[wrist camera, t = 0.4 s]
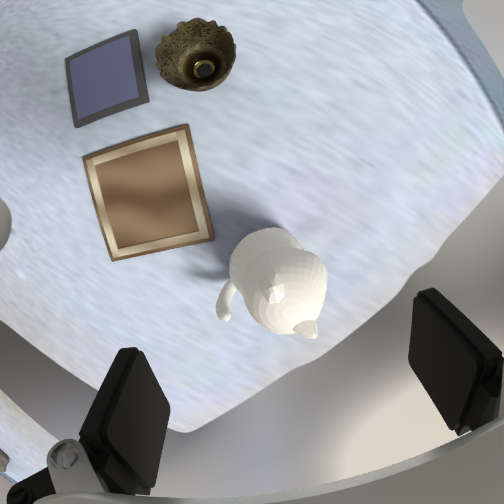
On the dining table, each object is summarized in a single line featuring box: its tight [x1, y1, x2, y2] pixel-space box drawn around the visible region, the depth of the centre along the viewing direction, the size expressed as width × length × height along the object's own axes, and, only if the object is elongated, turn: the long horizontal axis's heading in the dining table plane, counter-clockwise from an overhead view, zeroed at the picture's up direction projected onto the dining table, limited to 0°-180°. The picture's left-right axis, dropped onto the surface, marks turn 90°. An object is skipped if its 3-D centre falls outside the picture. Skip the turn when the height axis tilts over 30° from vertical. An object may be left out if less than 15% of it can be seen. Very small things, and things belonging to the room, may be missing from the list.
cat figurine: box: [216, 227, 327, 339], centre depth 32 cm, size 9×12×15 cm
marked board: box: [83, 124, 215, 262], centre depth 35 cm, size 14×14×1 cm
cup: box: [155, 18, 236, 92], centre depth 27 cm, size 8×7×8 cm
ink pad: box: [65, 29, 150, 128], centre depth 29 cm, size 10×10×1 cm
